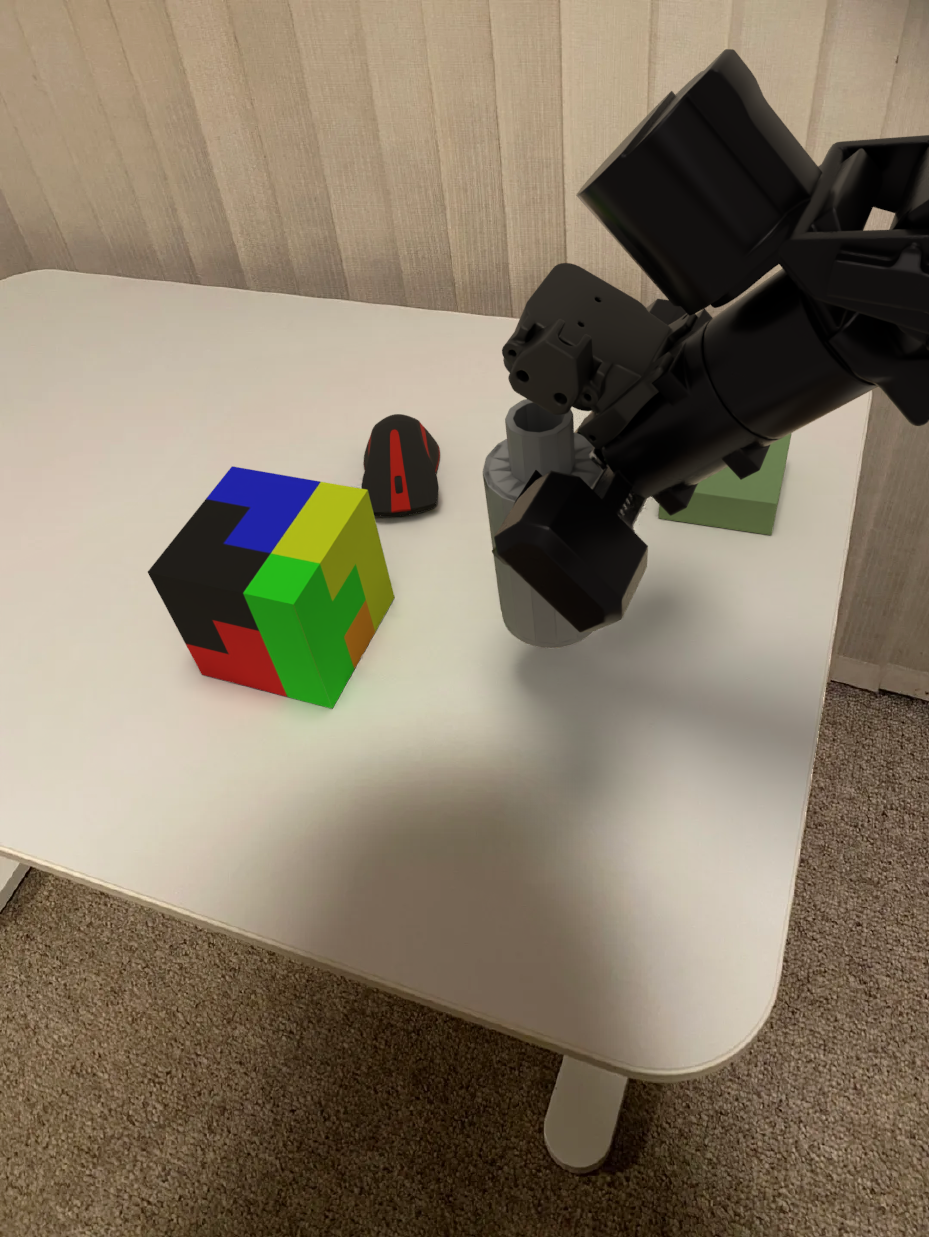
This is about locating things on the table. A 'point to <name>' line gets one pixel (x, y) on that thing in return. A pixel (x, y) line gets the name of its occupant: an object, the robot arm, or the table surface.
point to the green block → (739, 496)
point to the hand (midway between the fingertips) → (523, 516)
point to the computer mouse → (401, 467)
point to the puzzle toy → (277, 583)
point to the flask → (505, 474)
